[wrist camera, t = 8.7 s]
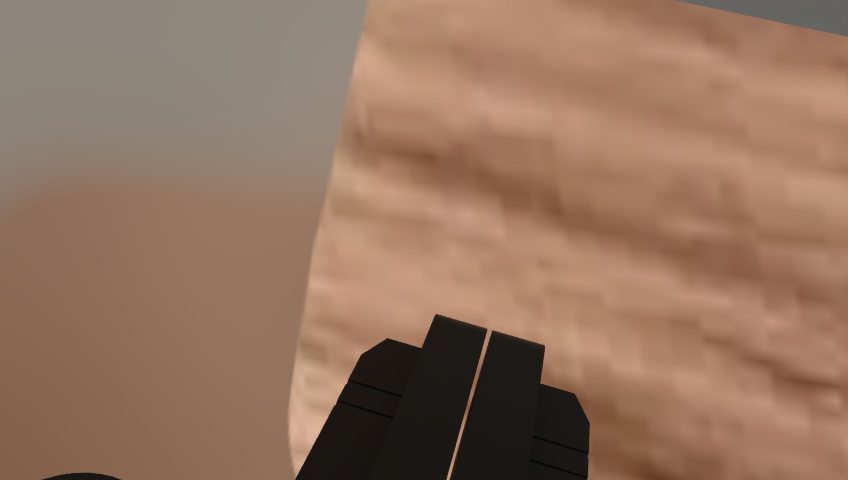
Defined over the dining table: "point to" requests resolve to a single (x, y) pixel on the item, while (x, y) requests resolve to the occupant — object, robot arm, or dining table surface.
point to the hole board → (790, 12)
